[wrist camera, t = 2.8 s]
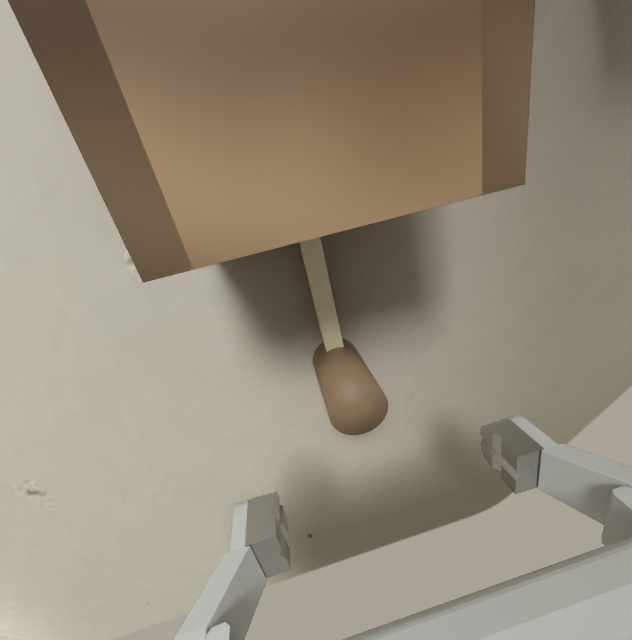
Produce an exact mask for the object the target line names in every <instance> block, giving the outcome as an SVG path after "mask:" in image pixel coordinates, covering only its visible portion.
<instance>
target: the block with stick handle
mask: <svg viewBox="0 0 632 640" xmlns="http://www.w3.org/2000/svg"><path fill="white" fill-rule="evenodd" d="M299 244H300V248H301V252H302V256H303V261H304V265H305V269H306V273H307V277H308V281H309V285H310V289H311V293H312V298H313V302H314V306H315V310H316V314H317V318H318V322H319V326H320V330H321V334H322V339H323V343H322V344H321V345H320V346H319V347H318V348H317V349H316V351H315V353H314V356H313V365H314V368H315V372H316V375H317V378H318V382H319V385H320V388H321V391H322V395H323V398H324V401H325V405H326V408H327V411H328V414H329V418H330V421H331V423H332V425H333V426H334V428H335V429H337V430H338V431H339V432H341V433H344V434H348V435H359V434H364V433H366V432H369V431H371V430H373V429H374V428H375V427H377V426H378V425H379V424H380V423H381V422H382V421H383V419H384V418H385V416H386V413H387V410H388V401H387V398H386V396H385V394H384V393H383V391H382V390H381V388H380V387H379V385H378V383H377V382H376V380H375V379H374V377H373V375H372V374H371V372H370V371H369V369H368V368H367V366H366V364H365V363H364V361H363V360H362V358H361V356H360V355H359V353H358V352H357V350H356V349H355V347H354V345H353V344H352V343H350V342H349V341H347V340H345V339H342V336H341V331H340V327H339V322H338V317H337V313H336V308H335V303H334V299H333V294H332V289H331V285H330V280H329V275H328V271H327V266H326V261H325V257H324V252H323V247H322V243H321V238H320V237H318V238H314V239H310V240H306V241H302V242H299Z"/></svg>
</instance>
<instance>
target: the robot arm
mask: <svg viewBox="0 0 632 640" xmlns="http://www.w3.org/2000/svg"><path fill="white" fill-rule="evenodd" d="M480 434H481V435H482V436H483V437H484V438H483V440H482V441H481V451H482V453H483V456H484V458H485V459H486V461H487V462H488V463H489V465H490V466H491V467H492V468H494V469H496V470H498V471H500V472H501V478H502V479H503V480H504V482H505V483H506V484H507V485H508V486H509V487H510V488H511V489H512V491H513V492H514V493H515V494H517V493H520V492H523V491H527V490H530V489H533V488H537V487H538V489H540V490H541V491H543V492H545V493H547V494H549V495H551V496H553V497H554V498H556V499H558V500H560V501H562V502H563V503H565V504H567V505H569V506H571V507H573V508H574V509H576V510H578V511H580V512H582V513H583V514H585V515H587V516H589V517H591V518H592V519H594V520H596V521H598V522H600V523H602V524H603V525H604V529H603V533H602V543H603V544H604V545H605V546H604V547H601V548H598V549H595V550H593V551H590V552H587V553H584V554H581V555H579V556H576V557H573V558H570V559H567V560H565V561H562V562H559V563H556V564H553V565H550V566H548V567H545V568H542V569H539V570H536V571H533V572H531V573H528V574H525V575H522V576H519V577H517V578H514V579H511V580H508V581H506V582H503V583H500V584H497V585H494V586H491V587H489V588H486V589H483V590H480V591H477V592H475V593H472V594H469V595H466V596H463V597H460V598H458V599H455V600H452V601H449V602H446V603H444V604H441V605H438V606H435V607H432V608H430V609H427V610H424V611H421V612H418V613H416V614H413V615H410V616H407V617H405V618H402V619H399V620H396V621H393V622H390V623H388V624H385V625H382V626H379V627H377V628H374V629H371V630H368V631H365V632H362V633H360V634H357V635H354V636H351V637H348V638H346V639H343V640H632V467H630V466H627V465H624V464H621V463H618V462H615V461H612V460H609V459H606V458H603V457H600V456H597V455H595V454H592V453H589V452H586V451H583V450H580V449H577V448H574V447H571V446H568V445H565V444H557V443H556V442H555V441H553V440H552V439H551V438H550V437H548V436H547V435H546V434H545V433H543V432H542V431H541V430H540V429H538V428H537V427H536V426H534V425H533V424H532V423H531V422H529V421H528V420H527V419H526V418H524V417H523V416H521V415H515V416H512V417H509V418H506V419H502V420H499V421H496V422H493V423H490V424H487V425H484V426H482V427H481V429H480ZM287 536H288V526H287V520H286V515H285V512H284V509H283V506H281V505H280V503H279V496H278V494H277V492H274V493H270V494H267V495H263V496H260V497H256V498H253V499H249V500H246V501H243V502H239V503H236V504H235V507H234V512H233V521H232V530H231V540H230V549H229V552H228V553H225V555H224V556H223V558H222V560H221V561H220V563H219V565H218V566H217V568H216V570H215V571H214V573H213V575H212V576H211V578H210V580H209V582H208V583H207V585H206V587H205V588H204V590H203V592H202V593H201V595H200V597H199V598H198V600H197V602H196V603H195V605H194V607H193V608H192V610H191V612H190V614H189V615H188V617H187V619H186V620H185V622H184V624H183V625H182V627H181V629H180V630H179V632H178V634H177V636H176V637H175V640H244V639H245V636H246V634H247V631H248V629H249V626H250V624H251V621H252V618H253V615H254V613H255V610H256V607H257V605H258V602H259V600H260V597H261V595H262V592H263V589H264V587H265V584H266V581H267V579H266V578H269V577H271V576H274V575H277V574H279V573H282V572H285V571H287V570H290V569H291V567H290V552H289V546H288V544H287V541H286V538H287Z"/></svg>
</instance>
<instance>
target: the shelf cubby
mask: <svg viewBox="0 0 632 640" xmlns="http://www.w3.org/2000/svg"><path fill="white" fill-rule="evenodd" d="M8 2H9V4H10V6H11V8H12V10H13V12H14V14H15V16H16V18H17V20H18V23H19V25H20V27H21V29H22V31H23V33H24V35H25V37H26V39H27V41H28V43H29V45H30V48H31V50H32V52H33V54H34V56H35V58H36V60H37V62H38V64H39V66H40V68H41V71H42V73H43V75H44V77H45V79H46V81H47V83H48V85H49V87H50V89H51V91H52V93H53V96H54V98H55V100H56V102H57V104H58V106H59V108H60V110H61V112H62V114H63V116H64V119H65V121H66V123H67V125H68V127H69V129H70V131H71V133H72V135H73V137H74V139H75V141H76V144H77V146H78V148H79V150H80V152H81V154H82V156H83V158H84V160H85V162H86V164H87V167H88V169H89V171H90V173H91V175H92V177H93V179H94V181H95V183H96V185H97V187H98V189H99V192H100V194H101V196H102V198H103V200H104V202H105V204H106V206H107V208H108V210H109V212H110V215H111V217H112V219H113V221H114V223H115V225H116V227H117V229H118V231H119V233H120V235H121V237H122V240H123V242H124V244H125V246H126V248H127V250H128V252H129V254H130V256H131V258H132V260H133V263H134V265H135V267H136V269H137V271H138V273H139V275H140V277H141V279H142V281H143V282H147V281H151V280H155V279H159V278H163V277H167V276H170V275H174V274H178V273H182V272H186V271H190V270H194V269H198V268H201V267H205V266H209V265H213V264H217V263H221V262H225V261H229V260H233V259H236V258H240V257H244V256H248V255H252V254H256V253H260V252H264V251H268V250H271V249H275V248H279V247H283V246H287V245H291V244H295V243H299V242H302V241H306V240H310V239H314V238H318V237H322V236H326V235H330V234H334V233H337V232H341V231H345V230H349V229H353V228H357V227H361V226H365V225H369V224H372V223H376V222H380V221H384V220H388V219H392V218H396V217H400V216H403V215H407V214H411V213H415V212H419V211H423V210H427V209H431V208H435V207H438V206H442V205H446V204H450V203H454V202H458V201H462V200H466V199H469V198H473V197H477V196H481V195H485V194H489V193H493V192H497V191H501V190H504V189H508V188H512V187H516V186H520V185H524V184H525V171H526V153H527V135H528V117H529V99H530V81H531V63H532V45H533V27H534V9H535V0H8Z"/></svg>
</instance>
